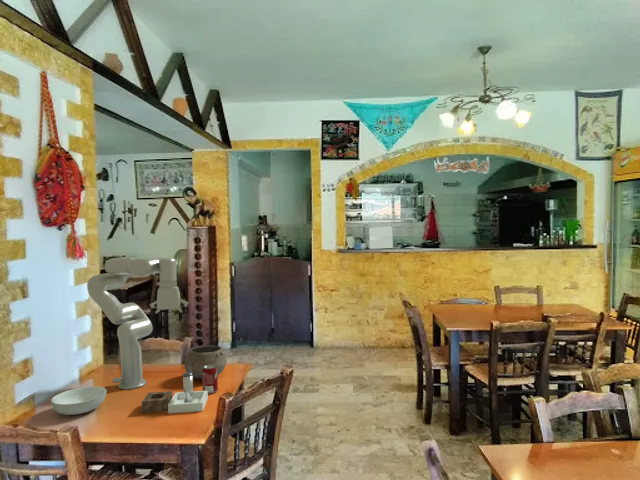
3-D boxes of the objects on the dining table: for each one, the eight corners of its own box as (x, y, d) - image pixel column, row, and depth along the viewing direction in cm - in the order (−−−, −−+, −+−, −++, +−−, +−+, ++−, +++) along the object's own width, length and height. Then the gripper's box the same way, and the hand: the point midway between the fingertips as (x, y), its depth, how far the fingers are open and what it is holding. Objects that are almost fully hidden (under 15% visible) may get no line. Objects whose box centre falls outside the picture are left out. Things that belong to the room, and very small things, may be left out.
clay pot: (182, 375, 234) (181, 346, 233) (222, 368, 242) (221, 341, 242) (188, 387, 214) (187, 356, 214) (231, 380, 223) (230, 350, 223)
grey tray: (168, 413, 185) (167, 405, 185) (175, 400, 199) (175, 392, 198) (202, 411, 186) (202, 402, 186) (207, 398, 200) (207, 390, 200)
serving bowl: (112, 398, 203) (111, 383, 203) (99, 417, 183) (99, 401, 183) (61, 403, 199) (61, 388, 199) (43, 423, 178) (42, 406, 178)
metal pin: (183, 405, 190) (181, 375, 190) (185, 401, 194) (184, 372, 194) (192, 404, 191) (191, 374, 190) (194, 401, 194) (193, 371, 194)
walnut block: (142, 413, 186) (141, 401, 185) (148, 403, 196) (148, 392, 195) (166, 411, 187) (166, 399, 186) (172, 402, 197) (171, 391, 196)
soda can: (214, 394, 204) (213, 368, 204) (200, 394, 205) (199, 368, 205) (220, 389, 211) (219, 364, 210) (206, 388, 212) (206, 363, 212)
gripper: (147, 286, 204) (148, 323, 205) (185, 284, 206) (187, 321, 206) (151, 284, 212) (153, 320, 212) (188, 282, 213) (190, 318, 214)
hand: (169, 320), depth 209 cm, fingers open, 9 cm apart
